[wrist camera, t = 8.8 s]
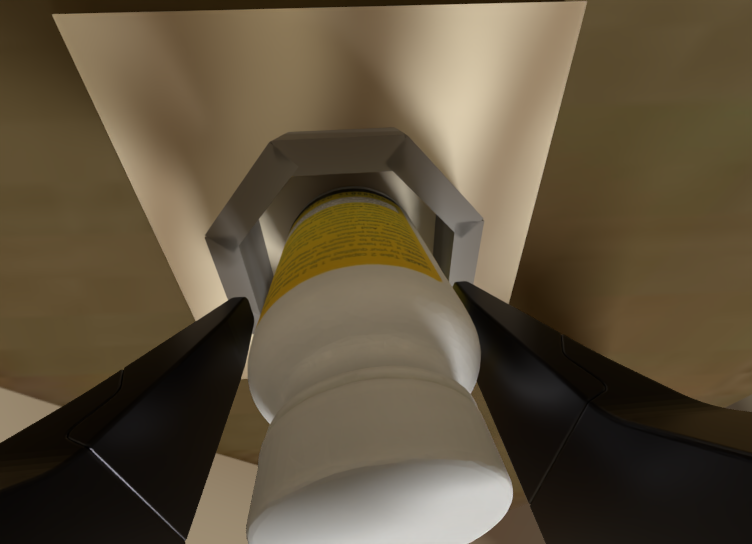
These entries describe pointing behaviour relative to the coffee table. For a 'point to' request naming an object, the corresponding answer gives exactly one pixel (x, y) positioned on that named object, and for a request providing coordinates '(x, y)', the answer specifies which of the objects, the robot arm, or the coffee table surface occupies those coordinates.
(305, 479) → the supplement bottle
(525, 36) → the socket plate
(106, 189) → the coffee table surface
